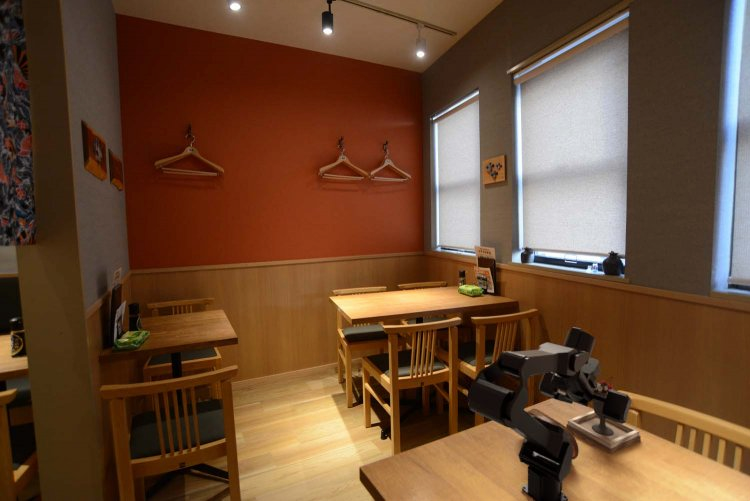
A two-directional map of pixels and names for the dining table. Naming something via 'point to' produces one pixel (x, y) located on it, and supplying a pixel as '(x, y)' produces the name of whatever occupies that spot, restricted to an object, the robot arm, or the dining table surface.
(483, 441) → the dining table surface
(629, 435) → the board
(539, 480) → the robot arm
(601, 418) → the sundae
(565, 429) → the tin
